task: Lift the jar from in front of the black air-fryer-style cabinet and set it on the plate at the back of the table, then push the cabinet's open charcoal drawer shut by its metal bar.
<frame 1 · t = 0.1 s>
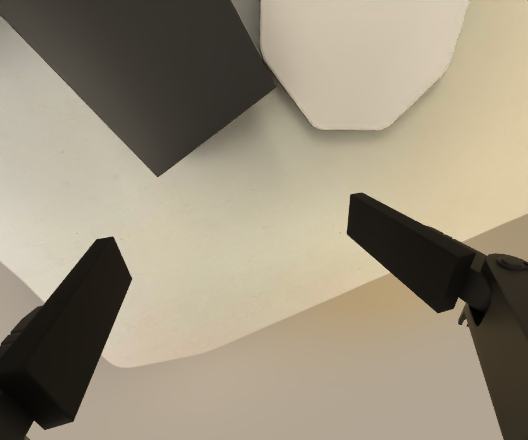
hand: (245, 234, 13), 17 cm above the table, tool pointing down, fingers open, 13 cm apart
plate: (364, 11, 25), on the table
fryer: (167, 64, 23), on the table
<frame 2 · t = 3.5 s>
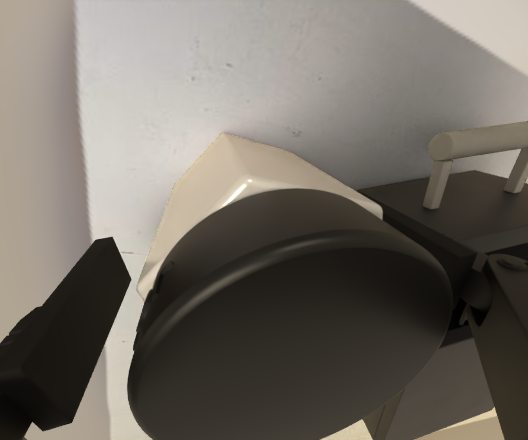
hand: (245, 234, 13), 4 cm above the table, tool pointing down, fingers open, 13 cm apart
jar: (241, 197, 16), on the table
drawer: (445, 250, 16), point 5 cm above the table, slide at 5.6 cm, touching gripper
fryer: (381, 298, 25), on the table
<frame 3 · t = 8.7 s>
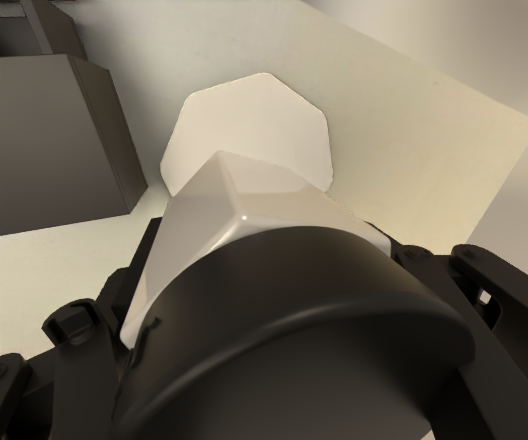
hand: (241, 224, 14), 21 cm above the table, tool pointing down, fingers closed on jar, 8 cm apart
jar: (238, 214, 16), point 19 cm above the table, touching gripper
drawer: (2, 31, 19), point 5 cm above the table, slide at 5.5 cm
plate: (252, 172, 34), on the table
fryer: (79, 141, 27), on the table
when the fingers open (3 cm above the table, at t = 13.5 s): jar stays where it is, resting on plate.
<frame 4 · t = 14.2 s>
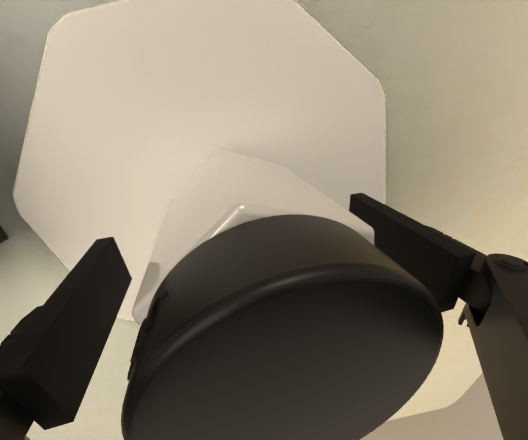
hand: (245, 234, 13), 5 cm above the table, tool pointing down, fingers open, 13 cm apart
jar: (238, 211, 16), point 1 cm above the table, touching plate
plate: (234, 202, 18), on the table, touching jar
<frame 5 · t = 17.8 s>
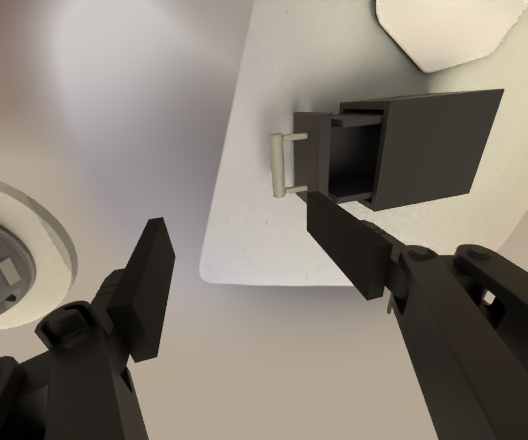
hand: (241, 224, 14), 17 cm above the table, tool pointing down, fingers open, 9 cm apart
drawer: (337, 157, 28), point 5 cm above the table, slide at 5.5 cm
fryer: (380, 142, 33), on the table
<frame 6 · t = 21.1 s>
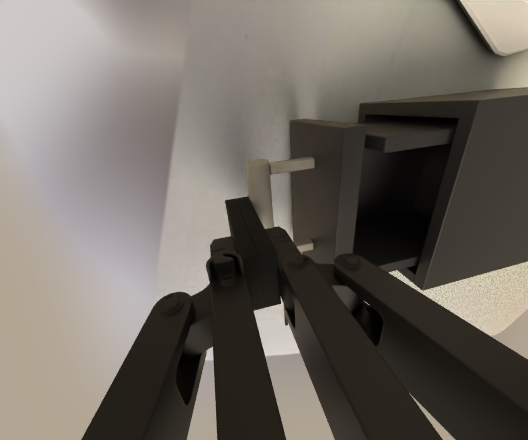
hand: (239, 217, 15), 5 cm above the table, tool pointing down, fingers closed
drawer: (363, 194, 17), point 5 cm above the table, slide at 5.0 cm, touching gripper
fryer: (416, 164, 22), on the table
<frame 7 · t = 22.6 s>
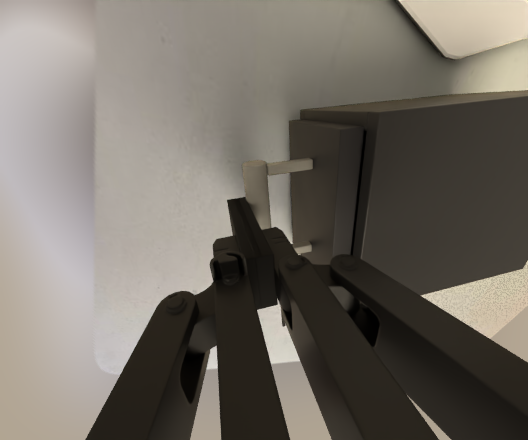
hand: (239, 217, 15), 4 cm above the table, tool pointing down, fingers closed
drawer: (362, 196, 16), point 5 cm above the table, slide at 0.0 cm, touching fryer, gripper
fryer: (371, 172, 21), on the table
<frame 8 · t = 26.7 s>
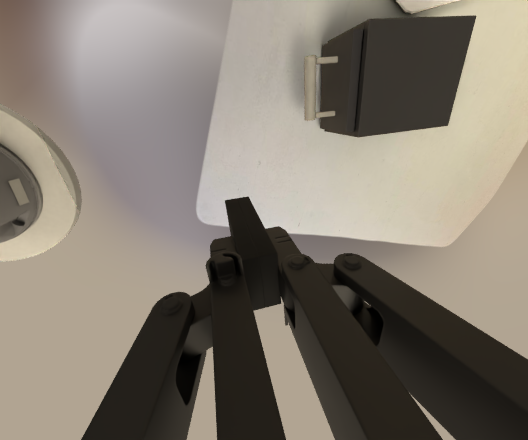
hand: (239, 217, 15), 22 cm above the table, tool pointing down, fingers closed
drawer: (362, 85, 31), point 5 cm above the table, slide at 0.0 cm, touching fryer
fryer: (366, 86, 35), on the table
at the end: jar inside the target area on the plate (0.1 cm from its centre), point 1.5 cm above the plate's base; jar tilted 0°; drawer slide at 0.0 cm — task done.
